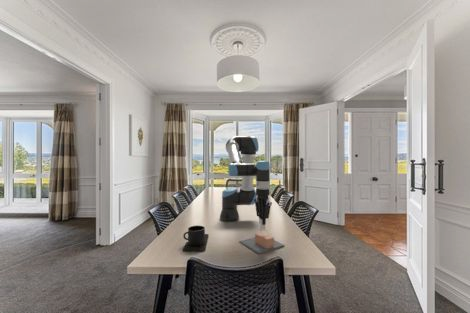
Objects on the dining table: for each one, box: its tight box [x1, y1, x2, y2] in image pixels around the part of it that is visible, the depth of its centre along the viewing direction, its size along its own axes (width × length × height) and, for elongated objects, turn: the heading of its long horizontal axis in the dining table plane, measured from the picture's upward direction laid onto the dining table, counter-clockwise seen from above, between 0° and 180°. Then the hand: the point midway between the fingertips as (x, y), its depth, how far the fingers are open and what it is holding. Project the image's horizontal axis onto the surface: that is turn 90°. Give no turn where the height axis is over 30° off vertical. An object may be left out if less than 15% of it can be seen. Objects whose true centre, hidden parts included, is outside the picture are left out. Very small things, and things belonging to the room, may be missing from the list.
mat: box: [239, 236, 285, 255], centre depth 128 cm, size 18×18×1 cm
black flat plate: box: [182, 233, 209, 253], centre depth 131 cm, size 25×1×15 cm
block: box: [254, 231, 275, 249], centre depth 126 cm, size 5×5×10 cm
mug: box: [183, 225, 206, 247], centre depth 129 cm, size 9×12×9 cm
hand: (262, 229), depth 127 cm, fingers closed
